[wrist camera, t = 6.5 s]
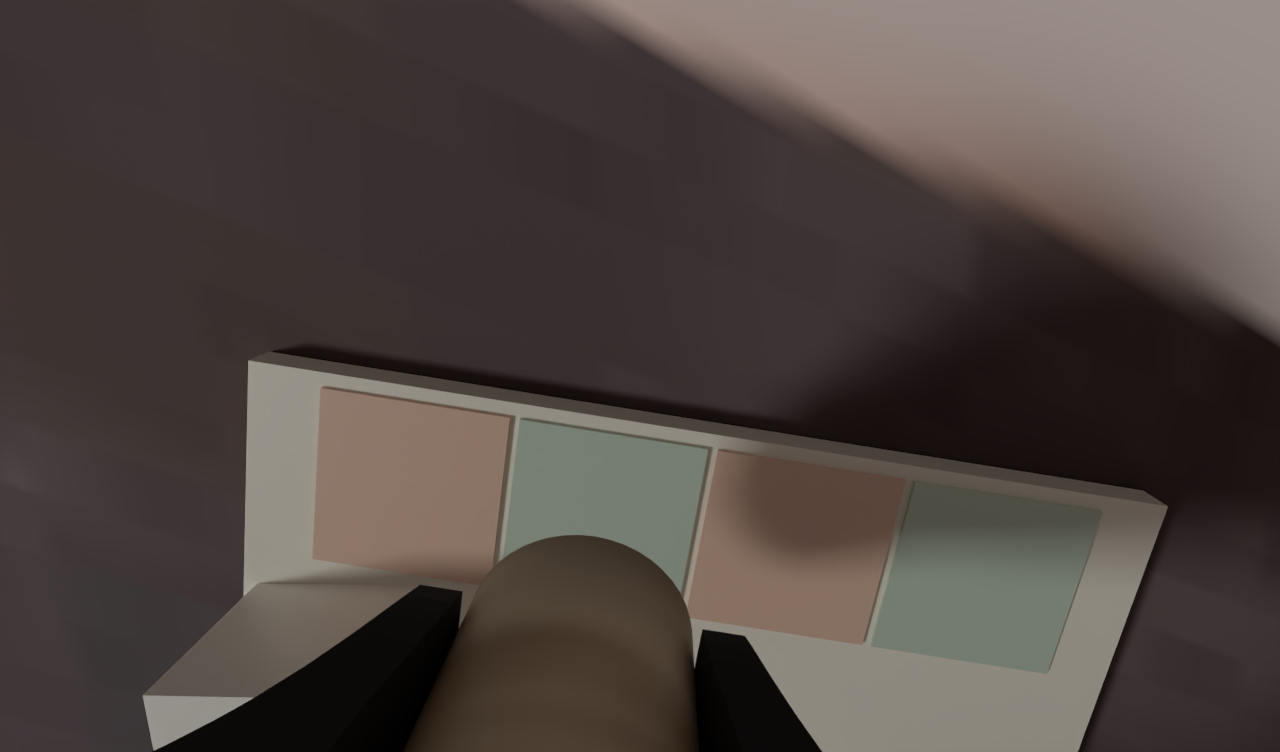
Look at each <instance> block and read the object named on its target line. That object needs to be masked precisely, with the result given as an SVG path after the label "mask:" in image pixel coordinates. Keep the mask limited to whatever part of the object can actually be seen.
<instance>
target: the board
mask: <svg viewBox="0 0 1280 752" xmlns="http://www.w3.org/2000/svg"><path fill="white" fill-rule="evenodd" d="M1167 508H1168V506H1167V505H1165V504H1163V503H1162V502H1160V501H1159V500H1157V499H1156V498H1154V497H1152V496H1151V495H1149V494H1148V493H1146V492H1145V491H1143V490H1137V489H1131V488H1124V487H1118V486H1112V485H1105V484H1099V483H1093V482H1086V481H1080V480H1074V479H1068V478H1061V477H1055V476H1049V475H1042V474H1036V473H1030V472H1024V471H1017V470H1011V469H1005V468H998V467H992V466H986V465H979V464H973V463H967V462H961V461H954V460H948V459H942V458H935V457H929V456H923V455H917V454H910V453H904V452H898V451H891V450H885V449H879V448H872V447H866V446H860V445H854V444H847V443H841V442H835V441H828V440H822V439H816V438H810V437H803V436H797V435H791V434H784V433H778V432H772V431H765V430H759V429H753V428H747V427H740V426H734V425H728V424H721V423H715V422H709V421H703V420H696V419H690V418H684V417H677V416H671V415H665V414H658V413H652V412H646V411H640V410H633V409H627V408H621V407H614V406H608V405H602V404H596V403H589V402H583V401H577V400H570V399H564V398H558V397H551V396H545V395H539V394H533V393H526V392H520V391H514V390H507V389H501V388H495V387H489V386H482V385H476V384H470V383H463V382H457V381H451V380H444V379H438V378H432V377H426V376H419V375H413V374H407V373H400V372H394V371H388V370H382V369H375V368H369V367H363V366H356V365H350V364H344V363H337V362H331V361H325V360H319V359H312V358H306V357H300V356H293V355H287V354H281V353H275V352H267V353H265V354H263V355H260V356H258V357H256V358H253V359H251V360H248V407H247V455H246V504H245V553H244V596H245V595H246V594H247V593H248V592H249V591H250V590H251V589H252V588H253V587H254V586H255V585H256V584H257V583H269V584H339V585H408V586H419V585H426V586H432V587H438V588H445V589H451V590H457V591H463V593H462V602H461V612H460V621H459V628H460V626H461V623H462V621H463V619H464V617H465V615H466V612H467V610H468V608H469V606H470V604H471V602H472V599H473V597H474V595H475V593H476V591H477V589H478V588H479V586H480V584H481V582H482V581H483V579H484V578H485V577H486V575H487V574H488V573H489V571H490V570H491V569H492V568H493V567H494V566H495V565H496V564H497V563H498V562H500V561H501V560H502V559H504V558H505V557H506V556H508V555H509V554H510V553H512V552H514V551H516V550H517V549H519V548H521V547H523V546H525V545H528V544H530V543H533V542H535V541H538V540H542V539H546V538H550V537H556V536H563V535H586V536H595V537H600V538H605V539H609V540H613V541H615V542H618V543H621V544H624V545H626V546H628V547H630V548H632V549H634V550H636V551H638V552H640V553H641V554H643V555H644V556H646V557H647V558H649V559H650V560H652V561H653V562H654V563H655V564H656V565H658V566H659V567H660V568H661V569H662V570H663V571H664V572H665V573H666V574H667V575H668V577H669V578H670V579H671V580H672V581H673V583H674V584H675V586H676V587H677V589H678V590H679V592H680V593H681V596H682V598H683V600H684V602H685V604H686V606H687V610H688V613H689V616H690V621H691V627H692V637H693V653H694V668H695V663H696V658H697V653H698V648H699V643H700V638H701V634H702V629H705V630H711V631H718V632H724V633H730V634H737V635H743V636H745V637H746V638H747V640H748V641H749V642H750V644H751V645H752V647H753V649H754V650H755V652H756V653H757V655H758V656H759V658H760V660H761V661H762V663H763V664H764V666H765V668H766V669H767V671H768V672H769V674H770V675H771V677H772V679H773V680H774V682H775V683H776V685H777V686H778V688H779V689H780V691H781V693H782V694H783V696H784V697H785V699H786V700H787V702H788V703H789V705H790V706H791V708H792V709H793V711H794V712H795V714H796V715H797V717H798V718H799V720H800V721H801V722H802V724H803V725H804V727H805V728H806V729H807V731H808V732H809V734H810V735H811V736H812V738H813V739H814V741H815V742H816V744H817V745H818V746H819V748H820V749H821V751H822V752H1078V750H1079V747H1080V744H1081V742H1082V739H1083V736H1084V733H1085V731H1086V728H1087V725H1088V723H1089V720H1090V717H1091V714H1092V712H1093V709H1094V706H1095V704H1096V701H1097V698H1098V695H1099V693H1100V690H1101V687H1102V685H1103V682H1104V679H1105V677H1106V674H1107V671H1108V668H1109V666H1110V663H1111V660H1112V658H1113V655H1114V652H1115V649H1116V647H1117V644H1118V641H1119V639H1120V636H1121V633H1122V630H1123V628H1124V625H1125V622H1126V620H1127V617H1128V614H1129V611H1130V609H1131V606H1132V603H1133V601H1134V598H1135V595H1136V592H1137V590H1138V587H1139V584H1140V582H1141V579H1142V576H1143V573H1144V571H1145V568H1146V565H1147V563H1148V560H1149V557H1150V554H1151V552H1152V549H1153V546H1154V544H1155V541H1156V538H1157V535H1158V533H1159V530H1160V527H1161V525H1162V522H1163V519H1164V516H1165V514H1166V511H1167Z"/></svg>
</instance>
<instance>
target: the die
mask: <svg viewBox="0 0 1280 752" xmlns="http://www.w3.org/2000/svg"><path fill="white" fill-rule="evenodd" d="M416 587H418V586H408V585H339V584H269V583H257V584H256V585H255V586H254V587H253V588H252V589H251V590H250V591H249V592H248V593H247V594H246V595H245V596H244V597H243V598H242V599H241V600H240V601H239V602H238V603H237V604H236V605H235V606H234V607H233V608H232V609H231V610H230V611H229V612H228V613H227V614H225V615H224V616H223V617H222V618H221V619H220V620H219V621H218V622H217V623H216V624H215V625H214V626H213V627H212V628H211V629H210V630H209V631H208V632H207V633H206V634H205V635H204V636H203V637H202V638H201V639H200V640H199V641H198V642H197V643H196V644H195V645H194V646H193V647H192V648H191V649H190V650H189V651H188V652H187V653H186V654H185V655H183V656H182V657H181V658H180V659H179V660H178V661H177V662H176V663H175V664H174V665H173V666H172V667H171V668H170V669H169V670H168V671H167V672H166V673H165V674H164V675H163V676H162V677H161V678H160V679H159V680H158V681H157V682H156V683H155V684H154V685H153V686H152V687H151V688H150V689H149V690H148V691H147V692H146V693H145V694H144V695H143V700H144V705H145V710H146V715H147V720H148V725H149V730H150V735H151V740H152V745H153V750H157V749H159V748H161V747H163V746H165V745H167V744H169V743H171V742H173V741H175V740H177V739H179V738H181V737H183V736H184V735H186V734H188V733H190V732H192V731H194V730H196V729H198V728H200V727H202V726H204V725H206V724H208V723H210V722H212V721H214V720H215V719H217V718H219V717H221V716H223V715H224V714H226V713H228V712H230V711H232V710H234V709H235V708H237V707H239V706H241V705H242V704H244V703H246V702H248V701H249V700H251V699H253V698H254V697H256V696H258V695H259V694H261V693H262V692H264V691H266V690H267V689H269V688H270V687H272V686H274V685H275V684H277V683H278V682H280V681H282V680H283V679H285V678H286V677H288V676H290V675H291V674H293V673H294V672H296V671H298V670H299V669H301V668H302V667H304V666H306V665H307V664H309V663H310V662H312V661H313V660H315V659H316V658H317V657H319V656H320V655H322V654H323V653H325V652H326V651H328V650H329V649H331V648H332V647H333V646H335V645H336V644H338V643H339V642H341V641H342V640H344V639H345V638H346V637H348V636H349V635H351V634H352V633H354V632H355V631H356V630H358V629H359V628H361V627H362V626H363V625H365V624H366V623H367V622H369V621H370V620H372V619H373V618H374V617H376V616H377V615H378V614H380V613H381V612H383V611H384V610H385V609H387V608H388V607H389V606H391V605H392V604H393V603H395V602H396V601H398V600H399V599H400V598H402V597H403V596H405V595H406V594H408V593H409V592H410V591H412V590H413V589H415V588H416Z"/></svg>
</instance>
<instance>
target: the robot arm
mask: <svg viewBox="0 0 1280 752" xmlns="http://www.w3.org/2000/svg"><path fill="white" fill-rule="evenodd" d="M462 593H463V591H457V590H451V589H445V588H438V587H432V586H426V585H419V586H418V587H416V588H415V589H413V590H412V591H410V592H409V593H408V594H406V595H405V596H403V597H402V598H400V599H399V600H398V601H396V602H395V603H393V604H392V605H391V606H389V607H388V608H387V609H385V610H384V611H383V612H381V613H380V614H378V615H377V616H376V617H374V618H373V619H372V620H370V621H369V622H367V623H366V624H365V625H363V626H362V627H361V628H359V629H358V630H356V631H355V632H354V633H352V634H351V635H349V636H348V637H346V638H345V639H344V640H342V641H341V642H339V643H338V644H336V645H335V646H333V647H332V648H331V649H329V650H328V651H326V652H325V653H323V654H322V655H320V656H319V657H317V658H316V659H315V660H313V661H312V662H310V663H309V664H307V665H306V666H304V667H302V668H301V669H299V670H298V671H296V672H294V673H293V674H291V675H290V676H288V677H286V678H285V679H283V680H282V681H280V682H278V683H277V684H275V685H274V686H272V687H270V688H269V689H267V690H266V691H264V692H262V693H261V694H259V695H258V696H256V697H254V698H253V699H251V700H249V701H248V702H246V703H244V704H242V705H241V706H239V707H237V708H235V709H234V710H232V711H230V712H228V713H226V714H224V715H223V716H221V717H219V718H217V719H215V720H214V721H212V722H210V723H208V724H206V725H204V726H202V727H200V728H198V729H196V730H194V731H192V732H190V733H188V734H186V735H184V736H183V737H181V738H179V739H177V740H175V741H173V742H171V743H169V744H167V745H165V746H163V747H161V748H159V749H157V750H154V751H152V752H403V750H404V747H405V745H406V743H407V741H408V739H409V737H410V734H411V732H412V730H413V728H414V726H415V723H416V721H417V719H418V717H419V715H420V713H421V710H422V708H423V706H424V704H425V702H426V700H427V697H428V695H429V693H430V691H431V689H432V686H433V684H434V682H435V680H436V678H437V676H438V673H439V671H440V669H441V667H442V665H443V663H444V660H445V658H446V656H447V654H448V652H449V649H450V647H451V645H452V643H453V641H454V639H455V636H456V634H457V632H458V630H459V621H460V612H461V602H462ZM694 670H695V686H696V702H697V719H698V735H699V752H822V751H821V749H820V748H819V746H818V745H817V744H816V742H815V741H814V739H813V738H812V736H811V735H810V734H809V732H808V731H807V729H806V728H805V727H804V725H803V724H802V722H801V721H800V720H799V718H798V717H797V715H796V714H795V712H794V711H793V709H792V708H791V706H790V705H789V703H788V702H787V700H786V699H785V697H784V696H783V694H782V693H781V691H780V689H779V688H778V686H777V685H776V683H775V682H774V680H773V679H772V677H771V675H770V674H769V672H768V671H767V669H766V668H765V666H764V664H763V663H762V661H761V660H760V658H759V656H758V655H757V653H756V652H755V650H754V649H753V647H752V645H751V644H750V642H749V641H748V640H747V638H746V637H745V636H743V635H737V634H730V633H724V632H718V631H711V630H705V629H702V634H701V638H700V643H699V648H698V653H697V658H696V663H695V668H694Z"/></svg>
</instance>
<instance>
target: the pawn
mask: <svg viewBox="0 0 1280 752" xmlns="http://www.w3.org/2000/svg"><path fill="white" fill-rule="evenodd" d="M403 752H699V735H698V719H697V702H696V686H695V670H694V653H693V637H692V627H691V621H690V616H689V613H688V610H687V606H686V604H685V602H684V600H683V598H682V596H681V593H680V592H679V590H678V589H677V587H676V586H675V584H674V583H673V581H672V580H671V579H670V578H669V577H668V575H667V574H666V573H665V572H664V571H663V570H662V569H661V568H660V567H659V566H658V565H656V564H655V563H654V562H653V561H652V560H650V559H649V558H647V557H646V556H644V555H643V554H641V553H640V552H638V551H636V550H634V549H632V548H630V547H628V546H626V545H624V544H621V543H618V542H615V541H613V540H609V539H605V538H600V537H595V536H586V535H563V536H556V537H550V538H546V539H542V540H538V541H535V542H533V543H530V544H528V545H525V546H523V547H521V548H519V549H517V550H516V551H514V552H512V553H510V554H509V555H508V556H506V557H505V558H504V559H502V560H501V561H500V562H498V563H497V564H496V565H495V566H494V567H493V568H492V569H491V570H490V571H489V573H488V574H487V575H486V577H485V578H484V579H483V581H482V582H481V584H480V586H479V588H478V589H477V591H476V593H475V595H474V597H473V599H472V602H471V604H470V606H469V608H468V610H467V612H466V615H465V617H464V619H463V621H462V623H461V626H460V628H459V630H458V632H457V634H456V636H455V639H454V641H453V643H452V645H451V647H450V649H449V652H448V654H447V656H446V658H445V660H444V663H443V665H442V667H441V669H440V671H439V673H438V676H437V678H436V680H435V682H434V684H433V686H432V689H431V691H430V693H429V695H428V697H427V700H426V702H425V704H424V706H423V708H422V710H421V713H420V715H419V717H418V719H417V721H416V723H415V726H414V728H413V730H412V732H411V734H410V737H409V739H408V741H407V743H406V745H405V747H404V750H403Z"/></svg>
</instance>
